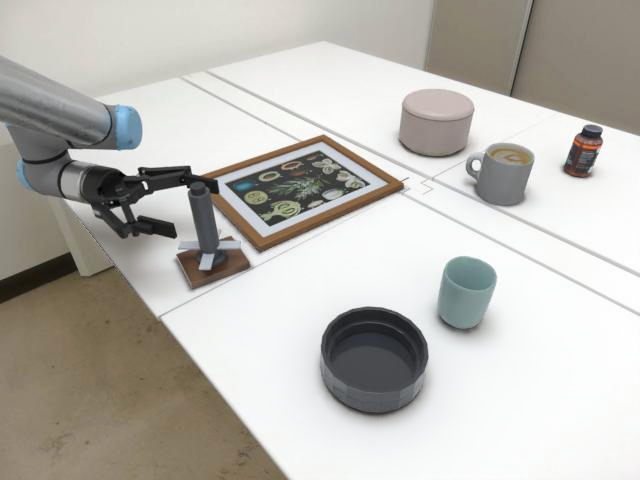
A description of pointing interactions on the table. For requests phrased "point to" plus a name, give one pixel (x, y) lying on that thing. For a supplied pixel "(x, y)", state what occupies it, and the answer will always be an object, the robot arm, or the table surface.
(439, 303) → the cup
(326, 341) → the processor bowl
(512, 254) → the table surface
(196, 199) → the blade
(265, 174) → the wall art
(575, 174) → the supplement bottle
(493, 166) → the coffee mug
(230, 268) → the board
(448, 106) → the container
